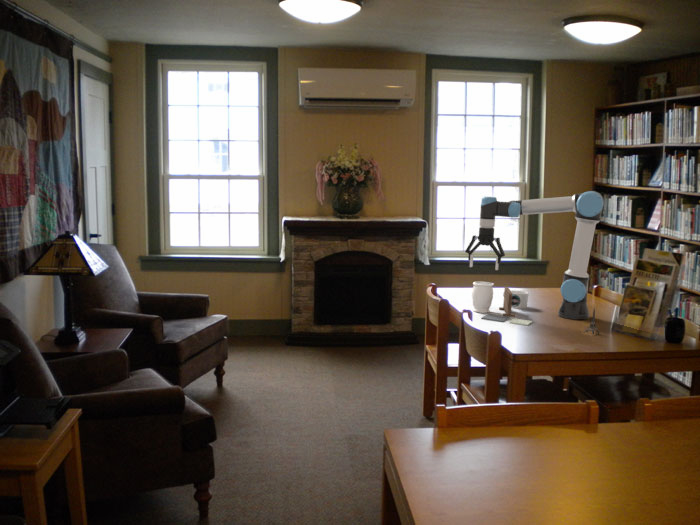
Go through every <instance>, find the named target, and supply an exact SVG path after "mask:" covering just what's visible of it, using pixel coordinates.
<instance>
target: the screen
mask: <svg viewBox="0 0 700 525" xmlns="http://www.w3.org/2000/svg"><path fill="white" fill-rule="evenodd" d="M511 291H512V290H511V289H510V288H509V287H508V286H504V292H503V293H504V296H503V304H502V305H503V306H499V307H498V310H499V311H504V312H503V313H502V316H507V317H509V318H511V317H512V318H513V317H514V318H515V317H516V313H512V308H511V307H512V292H511Z"/></svg>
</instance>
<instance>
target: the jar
mask: <svg viewBox="0 0 700 525" xmlns="http://www.w3.org/2000/svg"><path fill="white" fill-rule="evenodd" d="M494 284H495V283H493V282H489V281H473V282H472V285H473V286H472V292H471V300H472V306H473V309H472V311H473V312H475V313H480V314H486V313H487V314H489V313H491V312H490V308H491V306H492V303H493V302H492V301H493V298H494V289H493V287H494Z"/></svg>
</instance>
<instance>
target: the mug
mask: <svg viewBox="0 0 700 525" xmlns="http://www.w3.org/2000/svg"><path fill="white" fill-rule="evenodd" d="M510 291H511V292H512V307H511V309H518V310H524V309H527V307H528V302H529V301H528V300H529V292H528V291H525V290H516V289H515V290H510ZM502 296H503V297H504V292H502Z"/></svg>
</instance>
